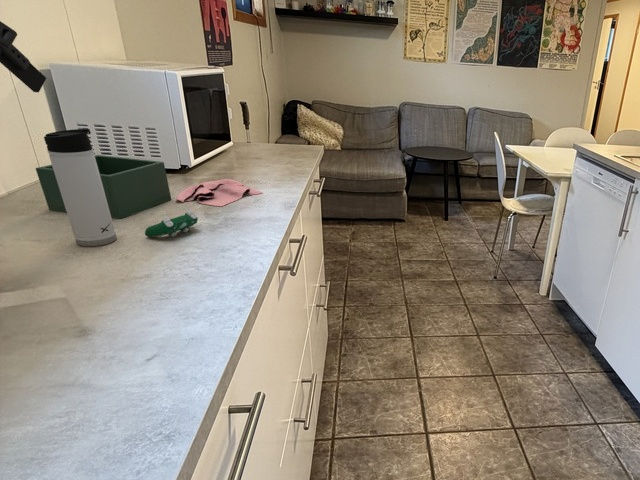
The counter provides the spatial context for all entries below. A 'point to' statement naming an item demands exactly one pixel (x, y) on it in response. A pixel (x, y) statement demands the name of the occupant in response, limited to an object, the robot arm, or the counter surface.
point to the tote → (117, 185)
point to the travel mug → (81, 186)
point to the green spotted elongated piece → (172, 225)
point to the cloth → (216, 192)
